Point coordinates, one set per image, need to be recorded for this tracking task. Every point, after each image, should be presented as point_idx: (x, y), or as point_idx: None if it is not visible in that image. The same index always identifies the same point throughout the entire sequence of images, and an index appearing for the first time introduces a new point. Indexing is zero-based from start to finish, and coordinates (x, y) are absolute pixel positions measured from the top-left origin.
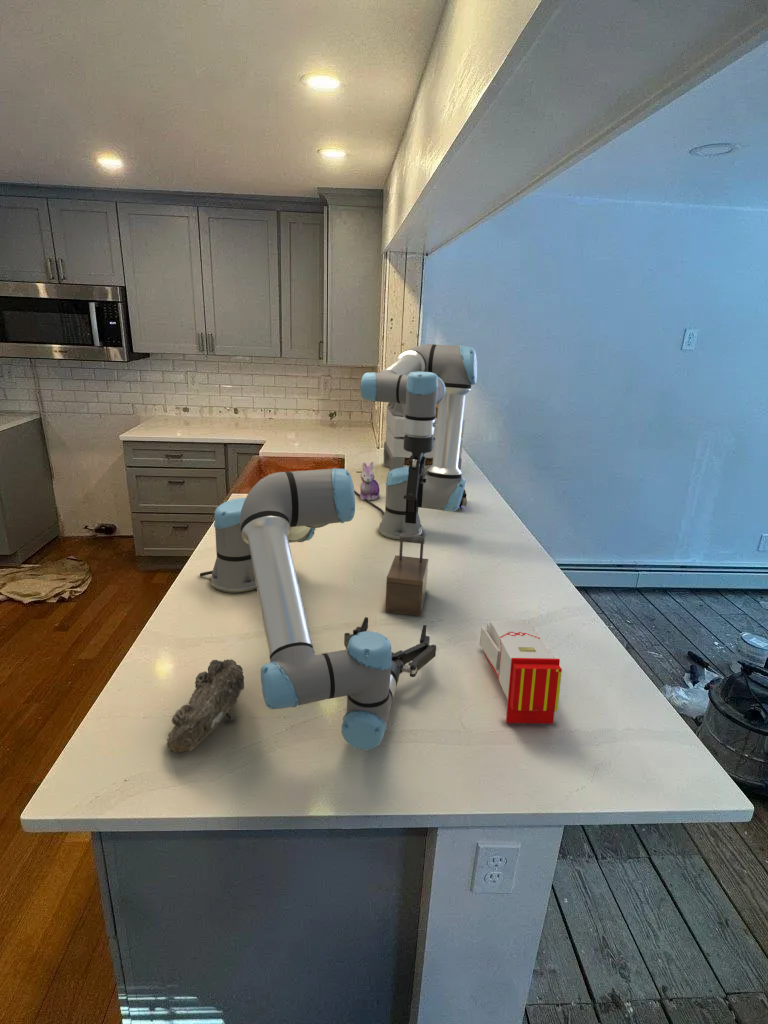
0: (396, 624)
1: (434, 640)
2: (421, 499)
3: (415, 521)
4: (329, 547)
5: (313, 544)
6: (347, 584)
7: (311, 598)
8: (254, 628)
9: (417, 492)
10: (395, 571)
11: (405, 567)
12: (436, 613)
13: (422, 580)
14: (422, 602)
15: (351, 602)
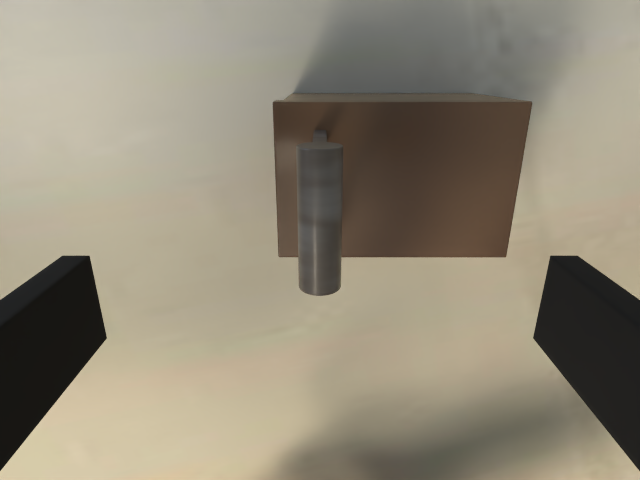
0: (531, 164)
1: (625, 25)
2: (48, 297)
3: (588, 267)
4: (81, 437)
5: (82, 477)
6: (309, 341)
7: (413, 404)
8: (571, 469)
9: (5, 394)
10: (445, 233)
11: (396, 198)
12: (445, 35)
13: (520, 105)
14: (428, 94)
15: (417, 309)
